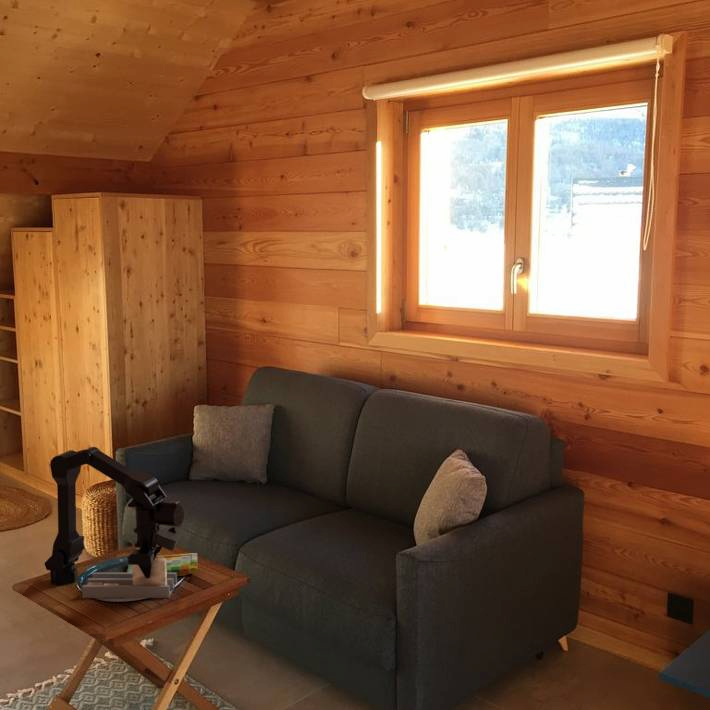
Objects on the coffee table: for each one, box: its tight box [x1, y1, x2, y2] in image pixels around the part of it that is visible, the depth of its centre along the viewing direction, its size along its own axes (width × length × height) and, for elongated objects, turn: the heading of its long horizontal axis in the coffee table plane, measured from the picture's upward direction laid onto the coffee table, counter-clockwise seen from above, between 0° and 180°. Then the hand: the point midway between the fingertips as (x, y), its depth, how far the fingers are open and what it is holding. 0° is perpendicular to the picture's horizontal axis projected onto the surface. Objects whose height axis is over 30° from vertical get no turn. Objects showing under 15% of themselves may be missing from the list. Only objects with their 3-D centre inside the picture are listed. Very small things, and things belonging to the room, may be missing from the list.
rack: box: [81, 571, 178, 599], centre depth 246 cm, size 24×10×4 cm, turn 89°
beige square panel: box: [132, 558, 167, 585], centre depth 244 cm, size 9×2×9 cm, turn 89°
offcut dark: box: [86, 582, 103, 585], centre depth 245 cm, size 4×2×2 cm, turn 89°
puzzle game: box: [126, 552, 199, 577], centre depth 260 cm, size 12×5×20 cm
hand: (149, 576), depth 244 cm, fingers closed on beige square panel, 2 cm apart
